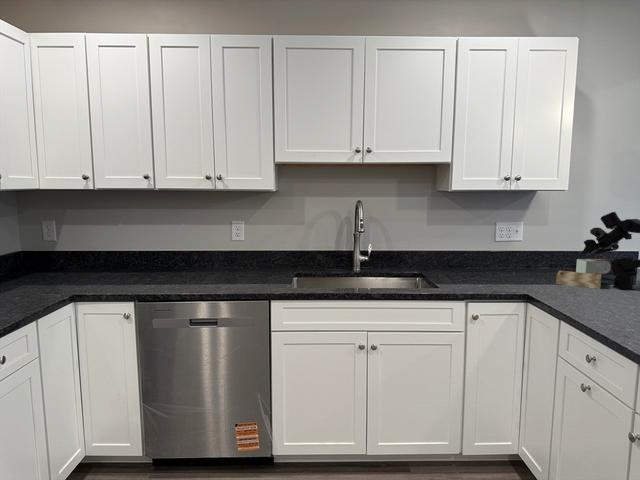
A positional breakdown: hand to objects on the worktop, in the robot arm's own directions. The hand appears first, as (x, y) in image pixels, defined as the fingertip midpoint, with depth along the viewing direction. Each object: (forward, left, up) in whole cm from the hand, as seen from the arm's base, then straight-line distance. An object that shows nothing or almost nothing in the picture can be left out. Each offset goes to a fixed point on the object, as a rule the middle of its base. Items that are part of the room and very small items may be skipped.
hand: (587, 253), depth 209 cm
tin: (-17, -18, -14) cm, 28 cm away
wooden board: (+8, +7, -14) cm, 17 cm away
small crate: (-2, -4, -14) cm, 15 cm away
